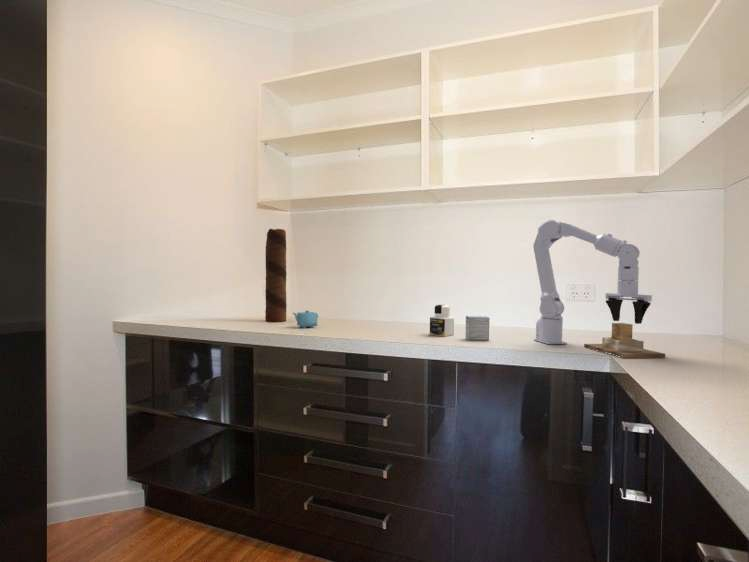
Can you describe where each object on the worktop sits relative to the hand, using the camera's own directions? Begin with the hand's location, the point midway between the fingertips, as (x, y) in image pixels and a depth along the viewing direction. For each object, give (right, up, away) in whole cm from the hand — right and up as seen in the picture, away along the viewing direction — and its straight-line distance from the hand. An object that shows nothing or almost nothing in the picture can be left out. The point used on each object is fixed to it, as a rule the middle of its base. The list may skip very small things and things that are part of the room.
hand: (626, 322), depth 133 cm
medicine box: (-44, -9, +19) cm, 49 cm away
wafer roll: (-131, -7, +66) cm, 147 cm away
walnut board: (-3, -9, -3) cm, 10 cm away
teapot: (-113, -7, +45) cm, 122 cm away
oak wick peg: (-3, -8, -3) cm, 9 cm away
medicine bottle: (-56, -8, +30) cm, 64 cm away
